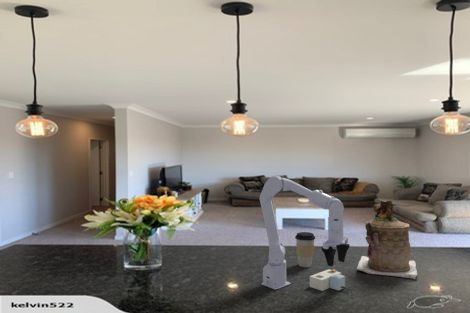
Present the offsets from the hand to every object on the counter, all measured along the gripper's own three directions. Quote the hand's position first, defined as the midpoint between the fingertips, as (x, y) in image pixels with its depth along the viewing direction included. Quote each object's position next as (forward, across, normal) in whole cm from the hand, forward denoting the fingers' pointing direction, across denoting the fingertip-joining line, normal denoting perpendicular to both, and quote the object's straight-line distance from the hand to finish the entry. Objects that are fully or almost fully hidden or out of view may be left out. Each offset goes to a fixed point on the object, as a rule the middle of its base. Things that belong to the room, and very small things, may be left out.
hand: (335, 263), depth 145 cm
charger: (+10, 0, -1) cm, 10 cm away
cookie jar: (+10, +38, -2) cm, 39 cm away
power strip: (+10, +2, +5) cm, 11 cm away
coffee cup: (+10, +14, +26) cm, 31 cm away
